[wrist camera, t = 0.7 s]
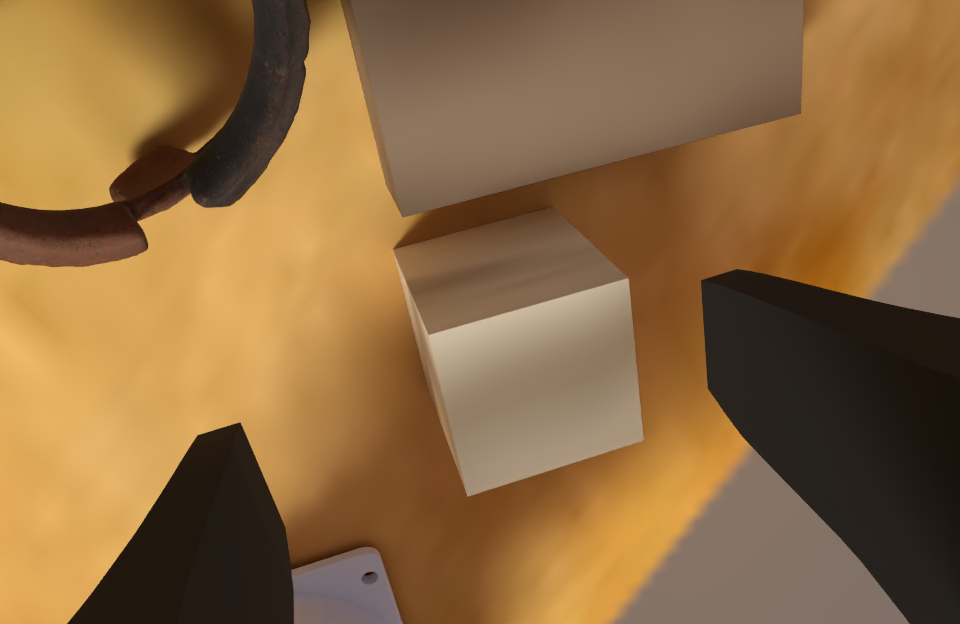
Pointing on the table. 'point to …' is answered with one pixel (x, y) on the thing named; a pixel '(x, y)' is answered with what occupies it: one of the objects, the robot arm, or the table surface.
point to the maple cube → (523, 346)
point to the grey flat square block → (561, 84)
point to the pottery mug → (180, 160)
